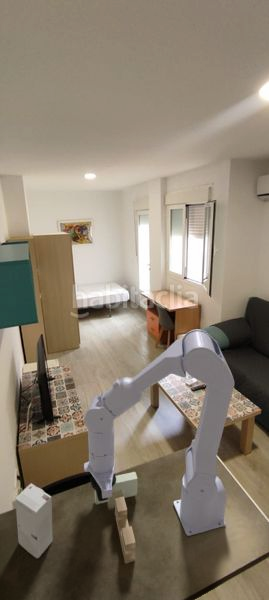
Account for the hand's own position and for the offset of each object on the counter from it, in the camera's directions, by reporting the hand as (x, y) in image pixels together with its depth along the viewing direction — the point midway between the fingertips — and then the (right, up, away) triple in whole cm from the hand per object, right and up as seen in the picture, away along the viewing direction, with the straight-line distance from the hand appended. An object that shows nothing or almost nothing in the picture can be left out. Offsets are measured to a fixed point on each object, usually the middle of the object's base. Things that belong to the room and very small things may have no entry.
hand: (102, 494), depth 69 cm
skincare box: (-13, -5, -8) cm, 16 cm away
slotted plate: (+3, -1, +1) cm, 4 cm away
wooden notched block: (+6, -4, -7) cm, 10 cm away
